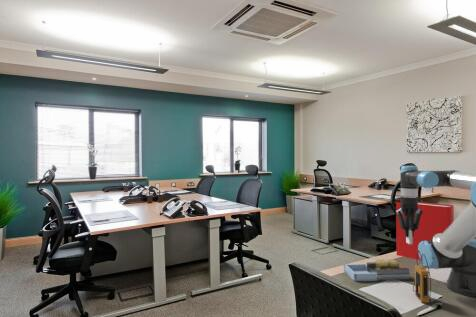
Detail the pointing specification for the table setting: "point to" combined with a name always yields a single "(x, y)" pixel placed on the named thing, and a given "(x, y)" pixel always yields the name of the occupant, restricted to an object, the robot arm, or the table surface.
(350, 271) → the tray
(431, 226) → the book
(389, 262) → the brass block
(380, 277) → the slotted deck
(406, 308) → the table surface
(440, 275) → the table surface
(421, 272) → the multimeter
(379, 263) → the brass block
